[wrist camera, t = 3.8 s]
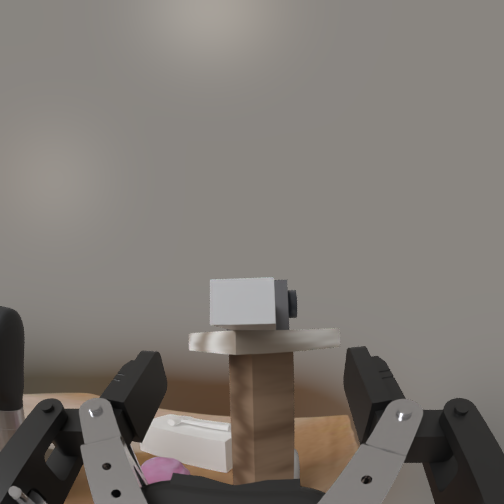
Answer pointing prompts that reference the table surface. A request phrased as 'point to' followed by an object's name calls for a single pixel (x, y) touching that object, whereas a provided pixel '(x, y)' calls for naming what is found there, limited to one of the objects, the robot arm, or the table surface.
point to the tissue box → (190, 441)
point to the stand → (262, 395)
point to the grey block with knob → (251, 304)
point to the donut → (296, 465)
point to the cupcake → (162, 469)
